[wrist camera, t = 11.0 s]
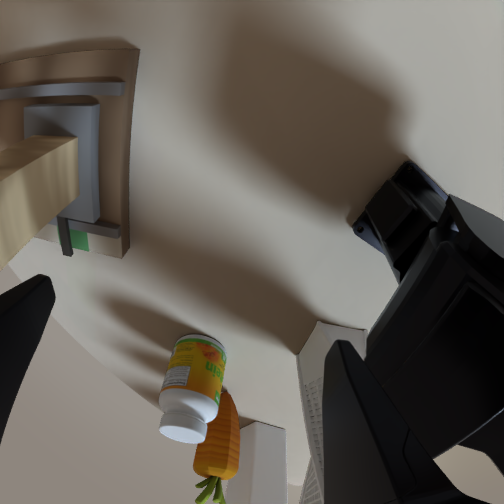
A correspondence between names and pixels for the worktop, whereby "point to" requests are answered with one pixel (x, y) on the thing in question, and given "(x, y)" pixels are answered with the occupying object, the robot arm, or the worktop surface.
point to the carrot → (218, 451)
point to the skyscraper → (319, 397)
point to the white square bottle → (260, 467)
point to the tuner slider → (49, 175)
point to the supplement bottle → (192, 388)
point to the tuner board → (110, 129)
